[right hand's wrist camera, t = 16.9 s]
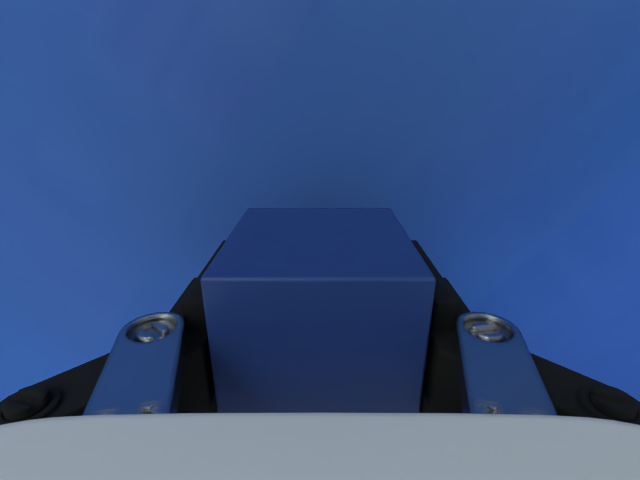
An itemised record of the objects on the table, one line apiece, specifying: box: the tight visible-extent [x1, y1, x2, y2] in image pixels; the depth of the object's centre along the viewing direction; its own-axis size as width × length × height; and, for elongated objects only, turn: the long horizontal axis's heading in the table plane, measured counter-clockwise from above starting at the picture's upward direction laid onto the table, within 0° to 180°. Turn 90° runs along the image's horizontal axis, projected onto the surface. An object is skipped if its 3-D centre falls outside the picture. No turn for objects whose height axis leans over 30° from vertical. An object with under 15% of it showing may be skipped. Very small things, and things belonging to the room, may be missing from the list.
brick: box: [200, 208, 436, 413], centre depth 10 cm, size 5×5×5 cm
